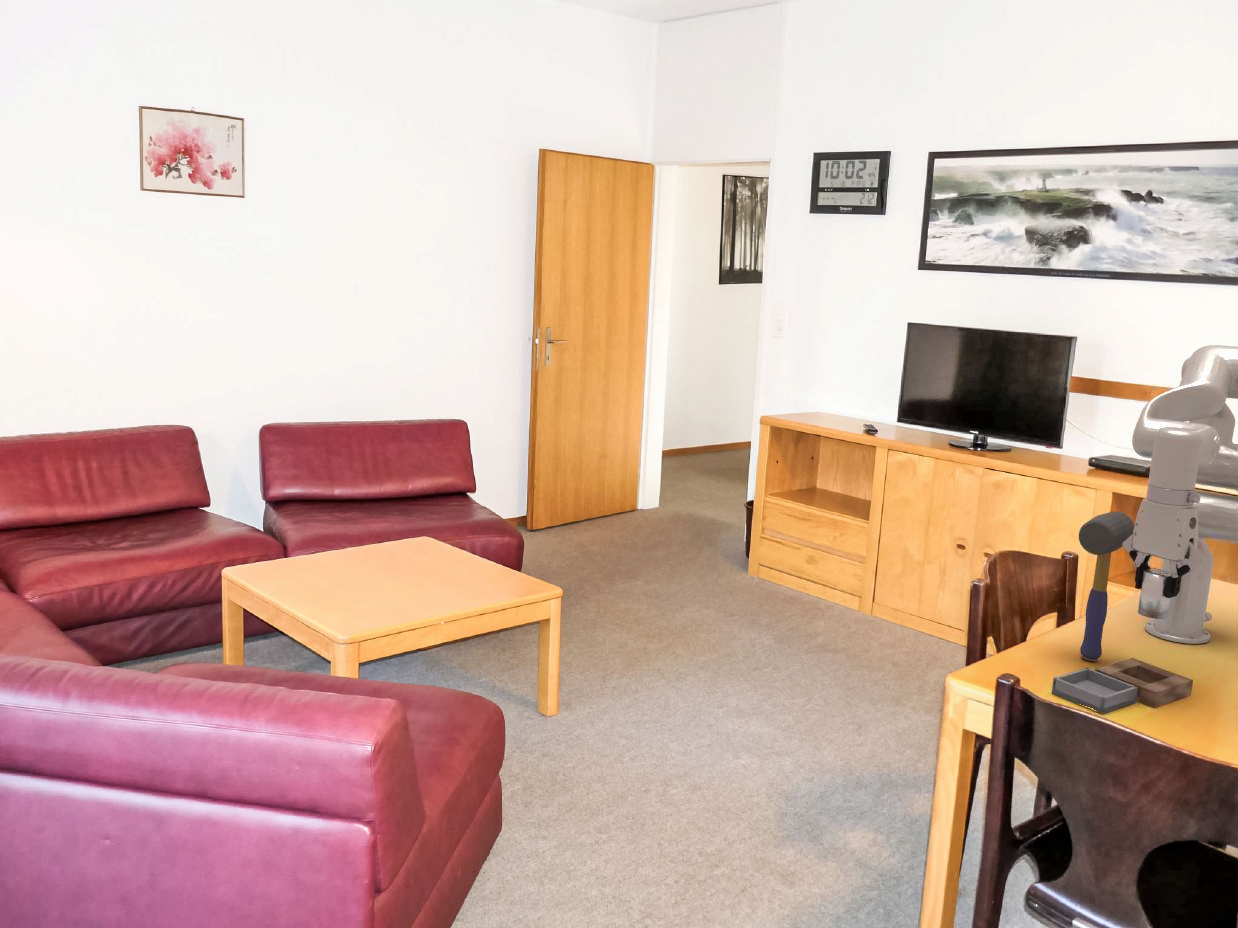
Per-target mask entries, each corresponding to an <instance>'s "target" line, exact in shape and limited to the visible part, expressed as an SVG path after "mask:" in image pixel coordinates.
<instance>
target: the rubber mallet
mask: <svg viewBox="0 0 1238 928" xmlns="http://www.w3.org/2000/svg"><path fill="white" fill-rule="evenodd" d="M1134 525H1135V523H1134V521H1133V520H1132V518H1130V516H1128V515H1127V514H1125V512H1121V511H1109V512H1105V513H1101V514H1098V515H1096V516H1094V517H1093V518H1091V519H1090V520H1088V521H1087V522H1085V523H1084V524H1083V525H1082V526H1081V527H1080V529H1079V531H1078V541H1079V544H1080V546H1081V547H1082V548H1083V550H1085V551H1086V552H1087V553H1089V554H1091V555H1094V556H1095V555H1096V562H1095V570H1094V575H1093V582H1092V588H1091V589H1090V591H1089V594H1088V597H1087V602H1086V607H1085V627H1084V633H1083V634H1084V635H1083V639H1082V643H1081V646H1080V647H1079V648H1080V649H1079V653H1080V655H1081V657H1082V659H1084V660H1086V661H1089V662H1097V661H1099V659H1100V657H1102V654H1103V650H1102V648H1103V647H1102V641H1103V640H1102V639H1103V631H1104V626H1105V622H1106V620H1107V619H1106V618H1107V614H1108V599H1109V598H1108V591H1107V589H1108V581H1109V575H1110V566H1111V560H1112V559H1111V558H1112V553H1113V552H1116V551H1118V550H1120V549H1121V548H1122V547H1123V545H1122V543H1123V542H1124V541H1125V540H1126V539H1128V538H1129V537H1130V536H1131V535H1132V534H1133V530H1134Z"/></svg>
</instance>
